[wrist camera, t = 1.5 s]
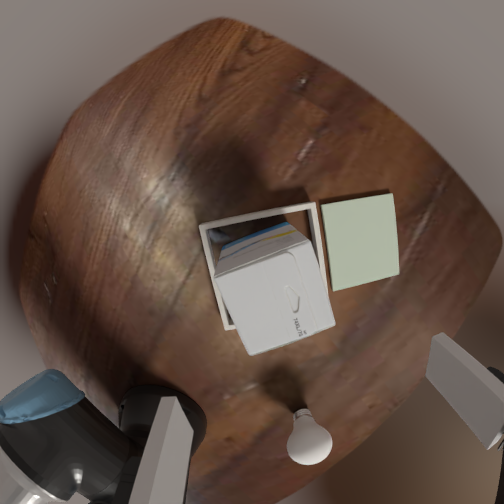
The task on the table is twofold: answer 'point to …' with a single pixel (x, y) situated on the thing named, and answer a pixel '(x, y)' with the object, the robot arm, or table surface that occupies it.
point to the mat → (361, 240)
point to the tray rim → (251, 216)
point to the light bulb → (308, 439)
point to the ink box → (273, 288)
